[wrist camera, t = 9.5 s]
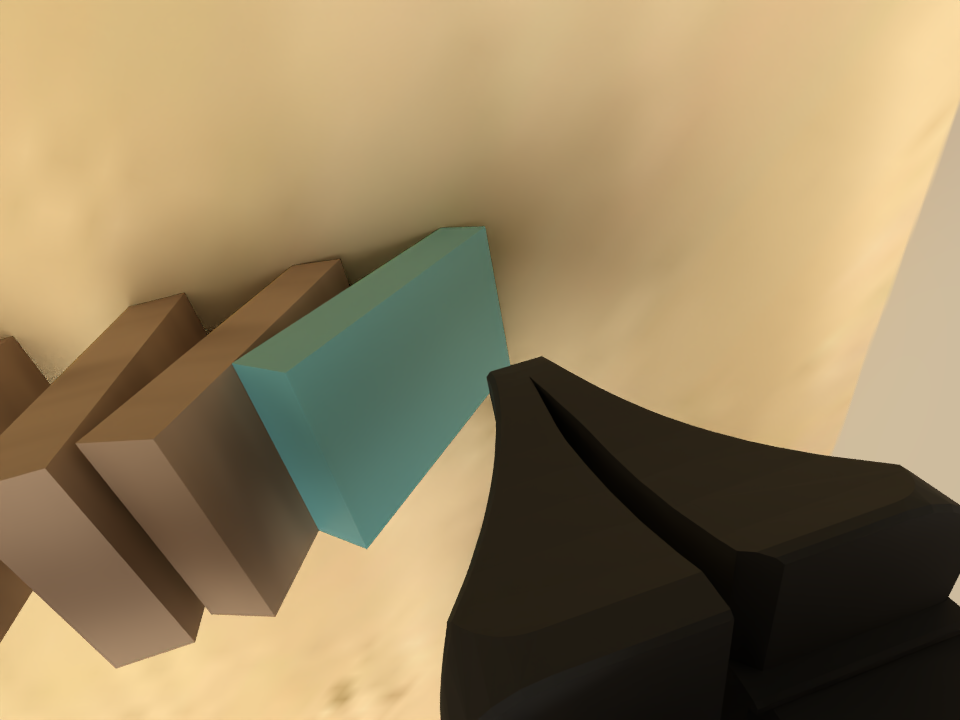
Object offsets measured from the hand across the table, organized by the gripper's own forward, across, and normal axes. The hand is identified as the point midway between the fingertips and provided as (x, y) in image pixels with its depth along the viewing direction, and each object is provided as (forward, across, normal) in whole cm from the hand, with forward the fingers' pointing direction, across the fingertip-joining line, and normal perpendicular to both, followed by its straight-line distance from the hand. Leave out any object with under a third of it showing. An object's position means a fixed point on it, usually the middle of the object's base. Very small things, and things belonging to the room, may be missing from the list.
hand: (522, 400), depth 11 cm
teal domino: (+6, 0, 0) cm, 6 cm away
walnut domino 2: (+6, +4, 0) cm, 7 cm away
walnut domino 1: (+6, +9, 0) cm, 11 cm away
